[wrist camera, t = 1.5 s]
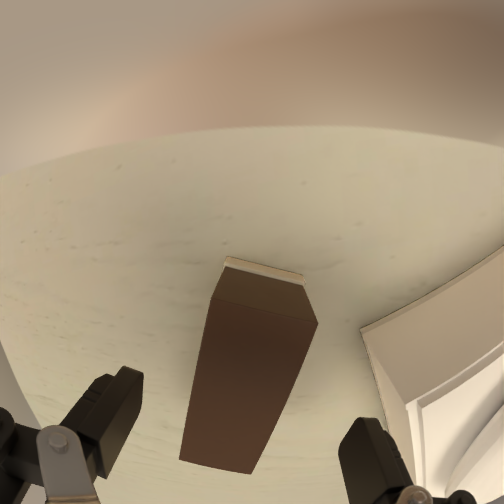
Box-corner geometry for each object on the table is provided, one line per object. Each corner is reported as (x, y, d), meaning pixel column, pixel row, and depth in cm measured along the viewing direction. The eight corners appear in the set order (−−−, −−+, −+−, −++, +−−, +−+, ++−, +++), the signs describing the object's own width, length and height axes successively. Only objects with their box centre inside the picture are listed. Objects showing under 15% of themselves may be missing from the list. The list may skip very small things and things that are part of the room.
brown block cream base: (227, 255, 18) (209, 292, 12) (302, 274, 18) (322, 319, 12) (194, 400, 21) (176, 461, 14) (254, 413, 21) (251, 476, 14)
